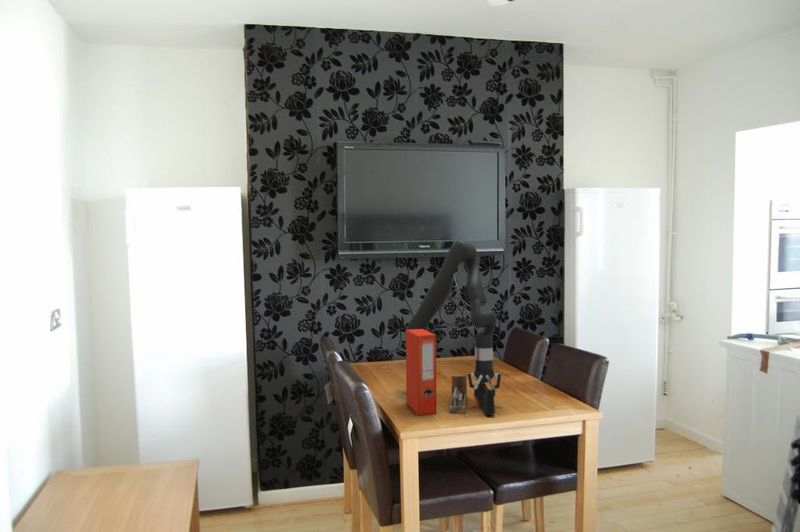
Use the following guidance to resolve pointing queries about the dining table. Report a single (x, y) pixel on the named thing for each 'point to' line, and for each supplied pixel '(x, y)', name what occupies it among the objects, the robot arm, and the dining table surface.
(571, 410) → the dining table surface
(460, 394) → the offcut stack
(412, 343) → the file binder
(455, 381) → the rack
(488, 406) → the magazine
